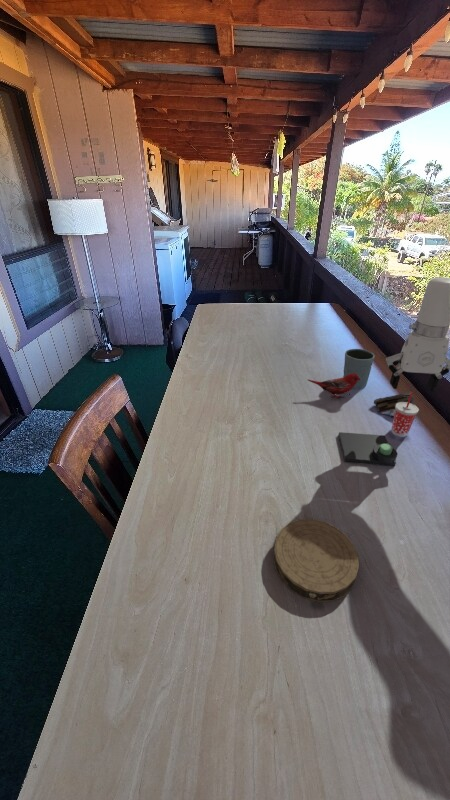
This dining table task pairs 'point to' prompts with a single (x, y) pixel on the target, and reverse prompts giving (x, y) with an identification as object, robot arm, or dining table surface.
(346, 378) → the decorative bird figurine
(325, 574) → the wood log slice
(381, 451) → the tare button
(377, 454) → the scale
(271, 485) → the dining table surface
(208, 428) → the dining table surface
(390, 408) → the chocolate cake
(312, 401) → the dining table surface
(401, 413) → the beverage cup
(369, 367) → the green cylindrical pot
